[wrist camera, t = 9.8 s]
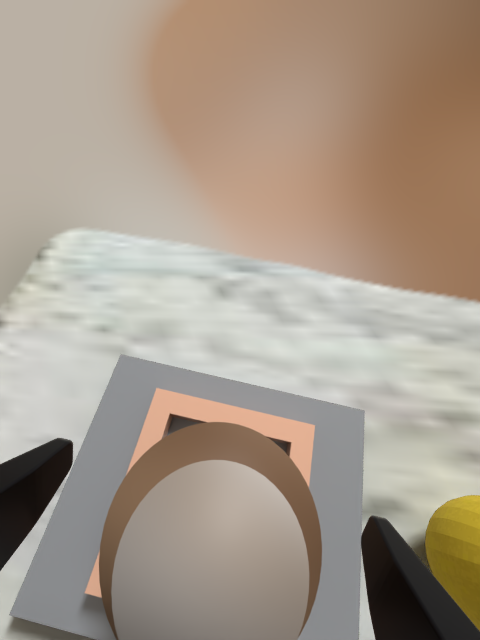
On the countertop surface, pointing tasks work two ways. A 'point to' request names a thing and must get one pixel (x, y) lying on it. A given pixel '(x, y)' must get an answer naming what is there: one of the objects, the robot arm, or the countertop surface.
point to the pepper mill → (211, 541)
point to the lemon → (457, 552)
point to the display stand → (162, 420)
